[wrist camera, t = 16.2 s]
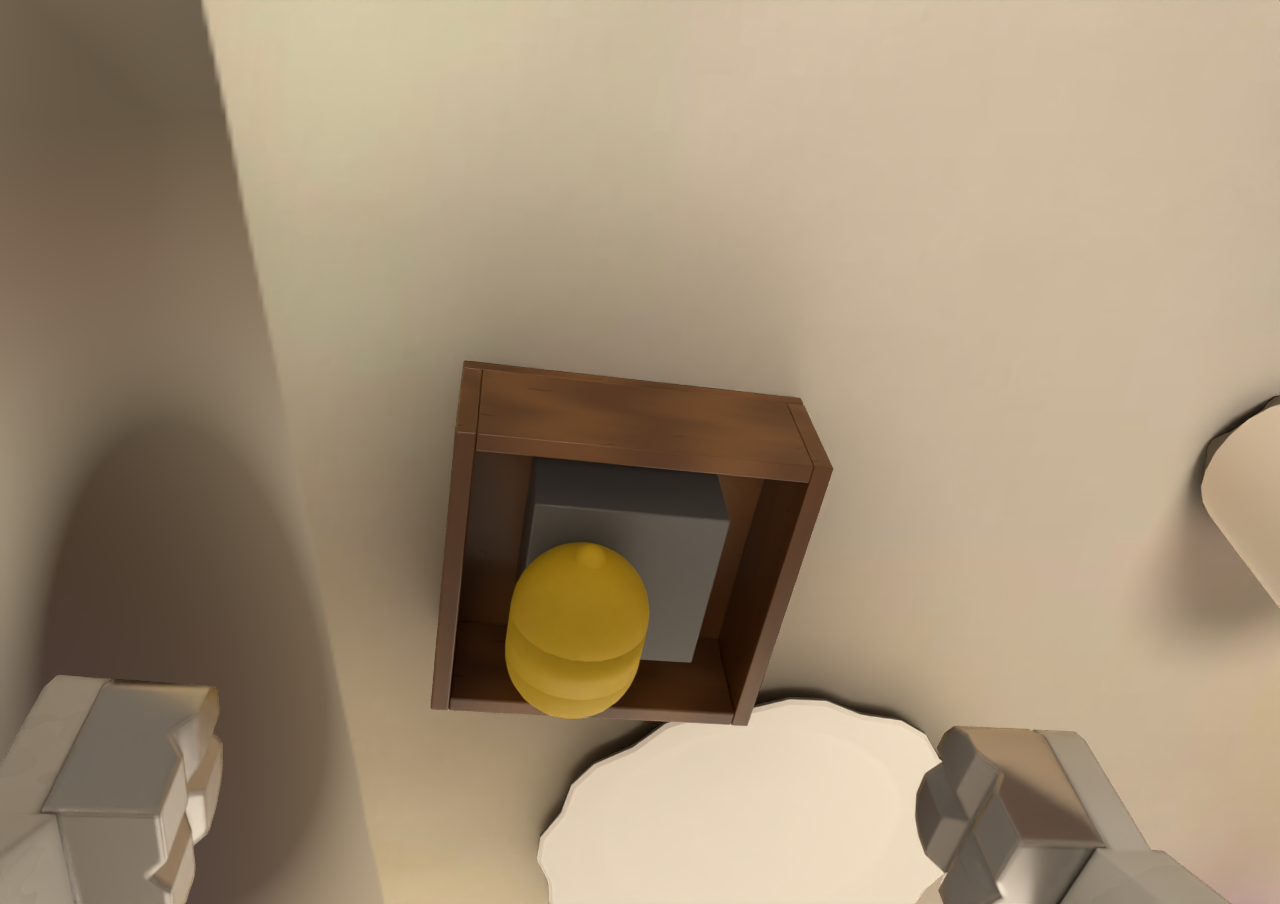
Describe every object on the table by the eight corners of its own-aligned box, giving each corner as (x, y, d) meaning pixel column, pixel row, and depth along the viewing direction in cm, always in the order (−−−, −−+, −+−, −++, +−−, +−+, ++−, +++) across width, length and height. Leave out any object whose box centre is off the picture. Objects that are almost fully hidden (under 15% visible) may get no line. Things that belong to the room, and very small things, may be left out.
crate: (440, 623, 48) (430, 710, 43) (464, 359, 40) (455, 430, 36) (727, 642, 51) (747, 726, 46) (801, 397, 43) (833, 468, 38)
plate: (824, 969, 68) (831, 997, 67) (481, 911, 61) (480, 941, 60) (1038, 735, 57) (1052, 762, 55) (645, 629, 50) (649, 656, 48)
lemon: (651, 706, 42) (570, 780, 38) (555, 640, 44) (469, 704, 40) (691, 551, 37) (604, 617, 33) (582, 487, 40) (488, 542, 36)
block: (514, 584, 46) (513, 652, 43) (534, 442, 42) (534, 503, 39) (679, 596, 48) (691, 663, 44) (714, 460, 44) (731, 521, 40)
